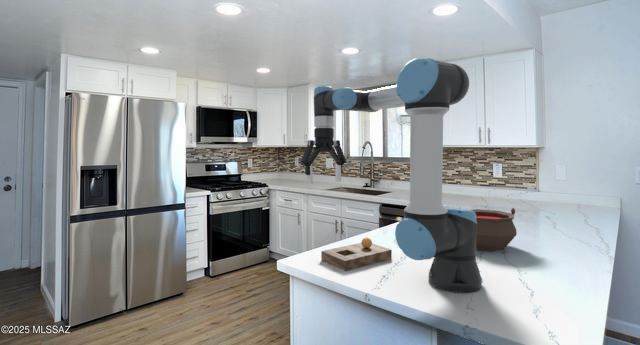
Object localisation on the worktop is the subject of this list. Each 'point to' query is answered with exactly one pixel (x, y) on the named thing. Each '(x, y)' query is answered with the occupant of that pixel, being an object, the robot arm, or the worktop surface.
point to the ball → (366, 242)
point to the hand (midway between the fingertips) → (324, 182)
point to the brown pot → (494, 229)
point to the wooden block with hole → (355, 256)
